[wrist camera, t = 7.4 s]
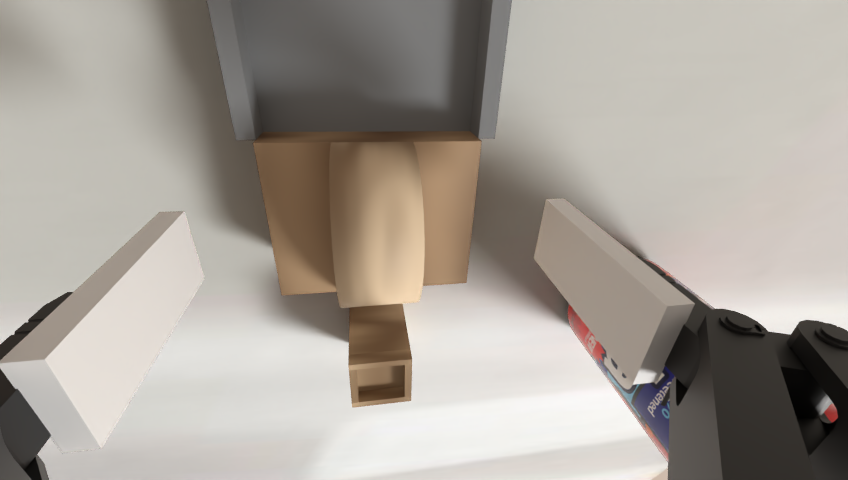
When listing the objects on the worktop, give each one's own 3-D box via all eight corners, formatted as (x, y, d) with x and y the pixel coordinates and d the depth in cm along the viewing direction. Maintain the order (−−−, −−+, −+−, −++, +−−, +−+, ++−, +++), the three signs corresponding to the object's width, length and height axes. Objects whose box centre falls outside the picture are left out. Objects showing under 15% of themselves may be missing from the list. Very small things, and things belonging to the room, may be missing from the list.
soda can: (593, 346, 32) (756, 563, 19) (542, 301, 28) (699, 528, 15) (673, 287, 30) (915, 484, 17) (629, 231, 26) (892, 424, 13)
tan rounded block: (292, 255, 23) (266, 352, 16) (271, 122, 19) (224, 174, 12) (450, 247, 25) (487, 331, 18) (460, 122, 21) (513, 168, 14)
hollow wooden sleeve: (352, 344, 27) (352, 407, 23) (349, 305, 26) (348, 365, 21) (401, 340, 28) (411, 400, 23) (402, 301, 26) (411, 359, 22)
